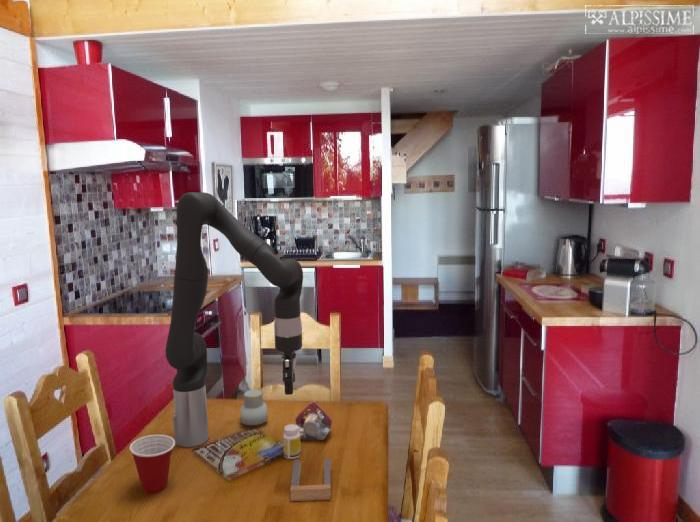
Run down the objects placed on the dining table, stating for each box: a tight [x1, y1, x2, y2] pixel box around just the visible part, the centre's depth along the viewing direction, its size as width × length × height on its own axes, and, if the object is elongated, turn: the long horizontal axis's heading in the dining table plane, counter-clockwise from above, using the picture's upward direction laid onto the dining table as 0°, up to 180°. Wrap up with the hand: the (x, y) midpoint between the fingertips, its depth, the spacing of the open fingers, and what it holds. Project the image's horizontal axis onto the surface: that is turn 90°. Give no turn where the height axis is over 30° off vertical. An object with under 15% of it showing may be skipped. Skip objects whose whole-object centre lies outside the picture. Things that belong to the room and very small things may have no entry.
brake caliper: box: [295, 400, 333, 441], centre depth 152 cm, size 11×11×12 cm
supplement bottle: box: [282, 423, 302, 460], centre depth 142 cm, size 5×5×8 cm
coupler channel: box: [289, 458, 332, 502], centre depth 128 cm, size 10×14×3 cm
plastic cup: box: [129, 434, 176, 494], centre depth 127 cm, size 11×11×12 cm
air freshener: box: [240, 389, 269, 426], centre depth 163 cm, size 11×8×10 cm
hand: (290, 387), depth 140 cm, fingers open, 8 cm apart
